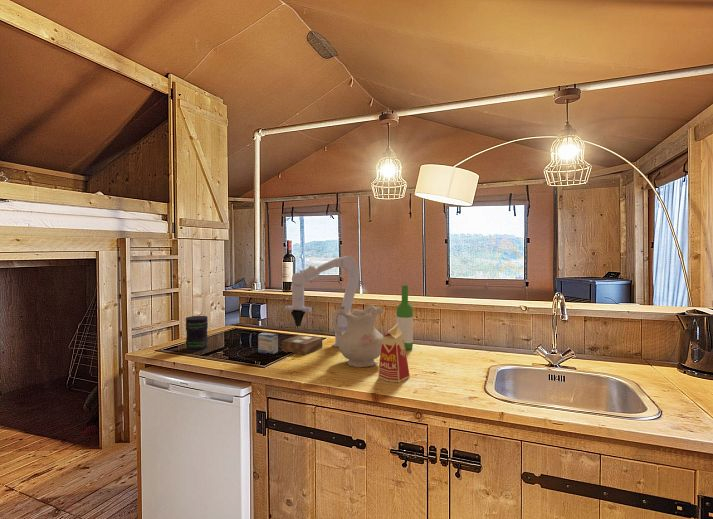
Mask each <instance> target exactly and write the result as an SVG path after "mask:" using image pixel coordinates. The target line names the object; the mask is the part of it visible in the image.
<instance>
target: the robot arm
mask: <svg viewBox="0 0 713 519" xmlns="http://www.w3.org/2000/svg"><path fill="white" fill-rule="evenodd" d="M334 268H343V269H344V270H345V271H346V273H347V274H348V280H347V284H346V288H345V292H344V295H343V299H342V302H341V305H340V306H345V307H344V309H345V311H346V313H348V314H351V310H352V305H353V303H354V302H353V301H354V299H355V294H356V291H357V287H358V284H359V280H360V277H361V276H360V275H361V273H360V270H359V267H358V263H357V261H356V259H355V258H354V257H352V256H350V255H344V256H342V257H341V256H340V257H337V258H334V259H331V260H329V261H328V262H324V263H323V264H321V265H318V266H315V265H309V266H308V268H305V269H303V270H299V272H295V273H293V275H292V277H291V281H292V284H291V287H292V288H291V302H292V303H291V305H284V311H291V312H290V314H291V316H292V317H293V320H294V323H295V326H296V327H300V326H301V324H302V321H303V319H304V315H305V314H306V313H307V312H308V313H312V312H313V307H310V306H305V286H304V284H305V282H309V281H311V280H313V279H316V278H318V277H319V276H320V274H321V273H323V272H325V271H328V270H330V269H334ZM338 325H339V328H340V331H341V334H342V333H343V332H344V331H345V330H346V329H347V326H348V323H347V319H346V317H344V316H343V315H339V316H338ZM334 333H335V334H334V335H335V337H334V339H335V343H332V344H331V347H336V348H337V347H338V348H339V344H338V335H337V333H336V331H335V330H334Z"/></svg>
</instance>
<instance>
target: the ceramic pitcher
mask: <svg viewBox="0 0 713 519" xmlns="http://www.w3.org/2000/svg"><path fill="white" fill-rule="evenodd" d="M344 307H345V306H341V305H340V306H339V305H338V306H337V307H335V308H336V309H335V310H334V311H333V314H332V325H333V328H334V332H335V331H336V333H337V335H338V344H339V347H338V348H339V352H340V354H341V355H342V356H343V357H344V358H345V359H347V360H348V361H347V362H346V365H348V366H350V367H353V368H354V367H355V368H360V369H361V368H364V367H365V368H366V367H373V366H376V365H379V363H378V362H376V361H375V359H378V358H380V353H381V346H382V340H383V336H384V335H383V334H382V333H381V332H380V331H379V330H377V328H376V327H375V324H376V323H375V322H376V319H377V317H378V316H379V315H380V314H382V313H383V307H382V306H379V305H377V306H375V305H372V304H369V305H367V306H366V307H364V308H363V309H357V308H355V309H353V310H352V311H350V314H348V313H346V311H345V309H344ZM339 315H343V316H344V317H346V319H347V323H348V326H347V329H346V330H345V331H344V332H343V333H342V334H341V331H340V328H339V325H338V316H339Z"/></svg>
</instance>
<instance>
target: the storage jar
mask: <svg viewBox="0 0 713 519" xmlns="http://www.w3.org/2000/svg"><path fill="white" fill-rule="evenodd" d="M208 325H209V324H208V316H207V315H193V316H191V315H190V316H187V317H186V318H185V330H186V338H185V347H186V348H185V351H186V352H200V351H205V350H208V348H209V347H208V346H209V339H208V338H209V337H208V328H209V326H208Z"/></svg>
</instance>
